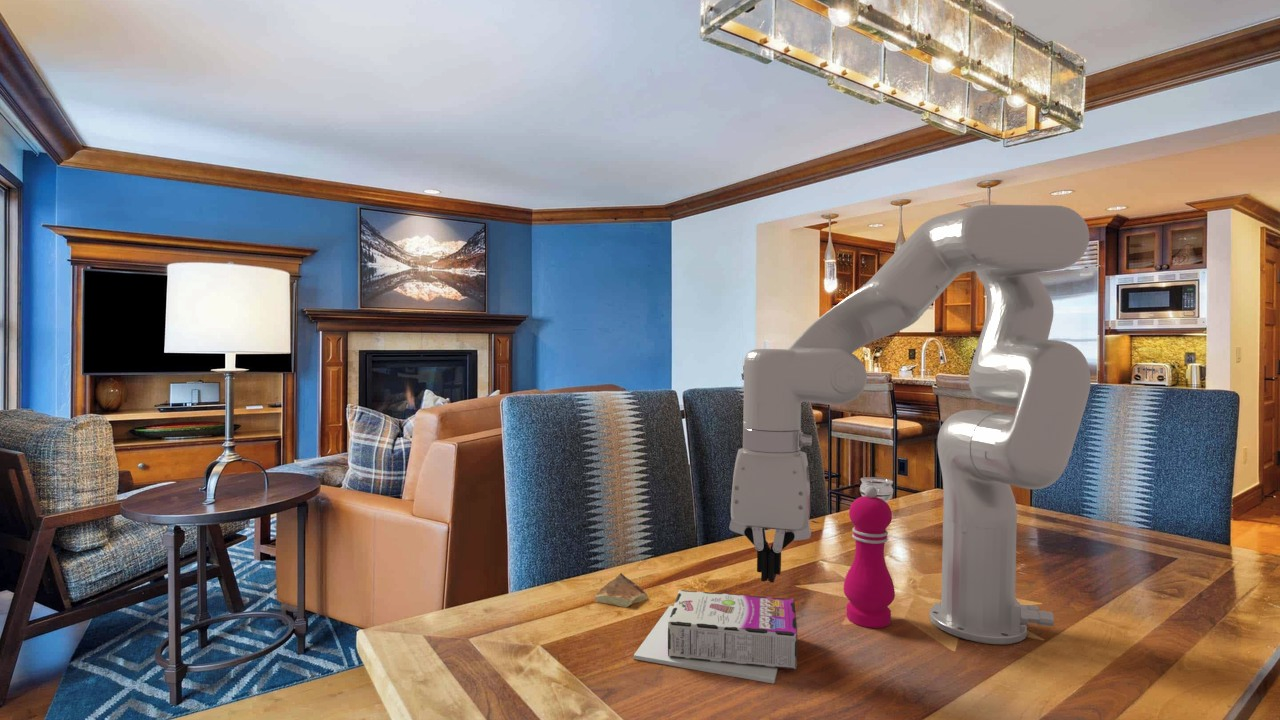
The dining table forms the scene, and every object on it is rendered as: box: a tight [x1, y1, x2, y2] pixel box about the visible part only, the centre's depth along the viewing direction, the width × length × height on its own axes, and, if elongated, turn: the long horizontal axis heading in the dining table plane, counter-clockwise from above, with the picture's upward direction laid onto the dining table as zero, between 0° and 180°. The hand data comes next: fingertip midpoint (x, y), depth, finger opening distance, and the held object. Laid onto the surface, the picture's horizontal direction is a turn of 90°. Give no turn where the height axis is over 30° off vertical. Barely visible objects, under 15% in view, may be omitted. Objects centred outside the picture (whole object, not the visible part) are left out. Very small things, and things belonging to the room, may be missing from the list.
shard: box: [594, 572, 648, 608], centre depth 106 cm, size 11×8×2 cm
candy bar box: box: [668, 589, 798, 670], centre depth 87 cm, size 11×5×16 cm
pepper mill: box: [843, 486, 896, 629], centre depth 97 cm, size 7×7×20 cm
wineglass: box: [859, 476, 894, 503], centre depth 140 cm, size 7×7×12 cm
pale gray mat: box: [633, 605, 779, 684], centre depth 89 cm, size 18×17×1 cm
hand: (768, 578), depth 86 cm, fingers closed
